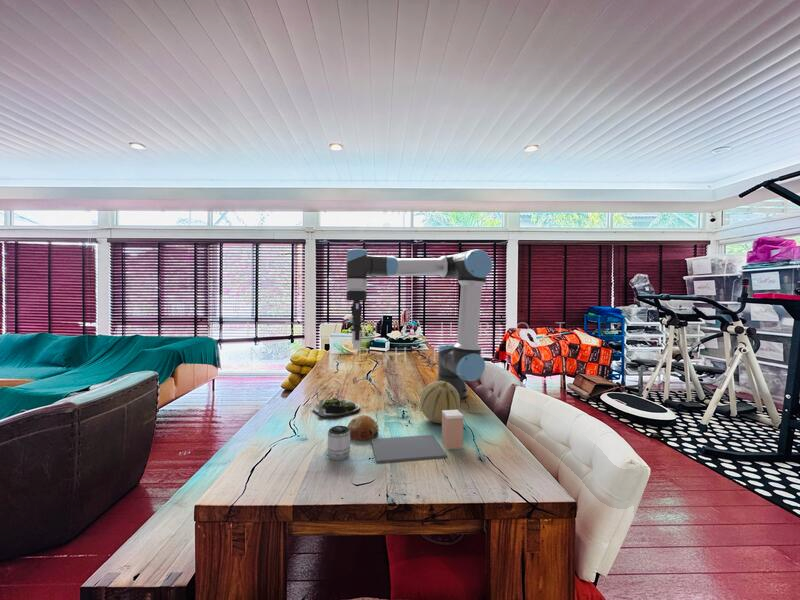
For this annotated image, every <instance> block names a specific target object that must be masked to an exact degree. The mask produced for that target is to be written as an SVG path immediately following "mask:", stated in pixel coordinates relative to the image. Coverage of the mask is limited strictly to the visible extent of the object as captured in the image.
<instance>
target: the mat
mask: <svg viewBox="0 0 800 600" xmlns="http://www.w3.org/2000/svg"><path fill="white" fill-rule="evenodd" d="M370 441H371V442H370V443H371V445H372V451H373V454H374V458H375V463H376V464H380V463H382V464H383V463H392V462H393V463H395V462H405V461H414V460H415V461H416V460H428V459H439V458H440V459H441V458H447V457H448V454H447V453H446V451H445V450H444V448H443V447H442V445H441V444H440V443H439V441H438V440H437V439H436V437H435V435H434V434H424V435H422V434H421V435H410V436H394V437H393V436H392V437H382V438H381V437H379V438H374V439H371V440H370Z"/></svg>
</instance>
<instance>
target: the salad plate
mask: <svg viewBox="0 0 800 600" xmlns="http://www.w3.org/2000/svg"><path fill="white" fill-rule="evenodd" d="M312 410H313V411H314V412H315V413H317V414H318V415H319V416H321V417H323V418H325V419H338V418H344V417H348V416H352V415H355V414H357V413H358V412H359V411H360V410H361V405H359V404H357V403H355V402H353V401H351V400H349V399H344V398H343V399H340V398H336V397H332V398H326V399H325V400H324V399H320V400H319V402H318V403H317V404H314V405H313V406H312Z"/></svg>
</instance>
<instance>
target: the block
mask: <svg viewBox="0 0 800 600" xmlns="http://www.w3.org/2000/svg"><path fill="white" fill-rule="evenodd" d="M463 442H464V415H463V413H462V412H461V411H460V410H459V411H458V410H442V423H441V444H442V445H443V447H444V448H445V450H459V449H461V450H463V449H464V443H463Z"/></svg>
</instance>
